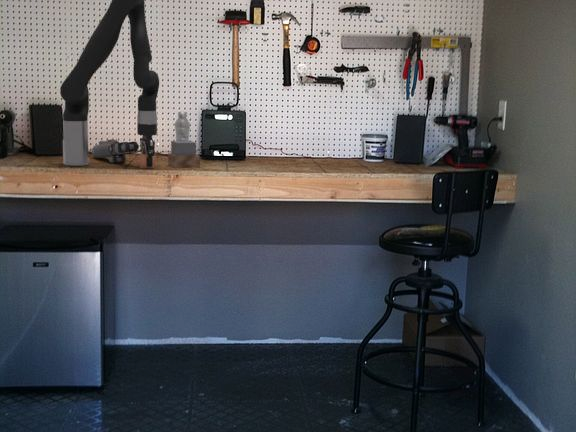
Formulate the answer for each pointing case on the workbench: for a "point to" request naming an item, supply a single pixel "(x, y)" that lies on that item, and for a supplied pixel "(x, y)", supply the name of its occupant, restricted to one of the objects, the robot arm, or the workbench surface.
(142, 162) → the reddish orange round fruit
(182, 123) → the grey figurine
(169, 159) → the tower base
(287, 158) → the workbench surface
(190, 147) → the grey square block
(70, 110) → the robot arm
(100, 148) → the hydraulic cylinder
